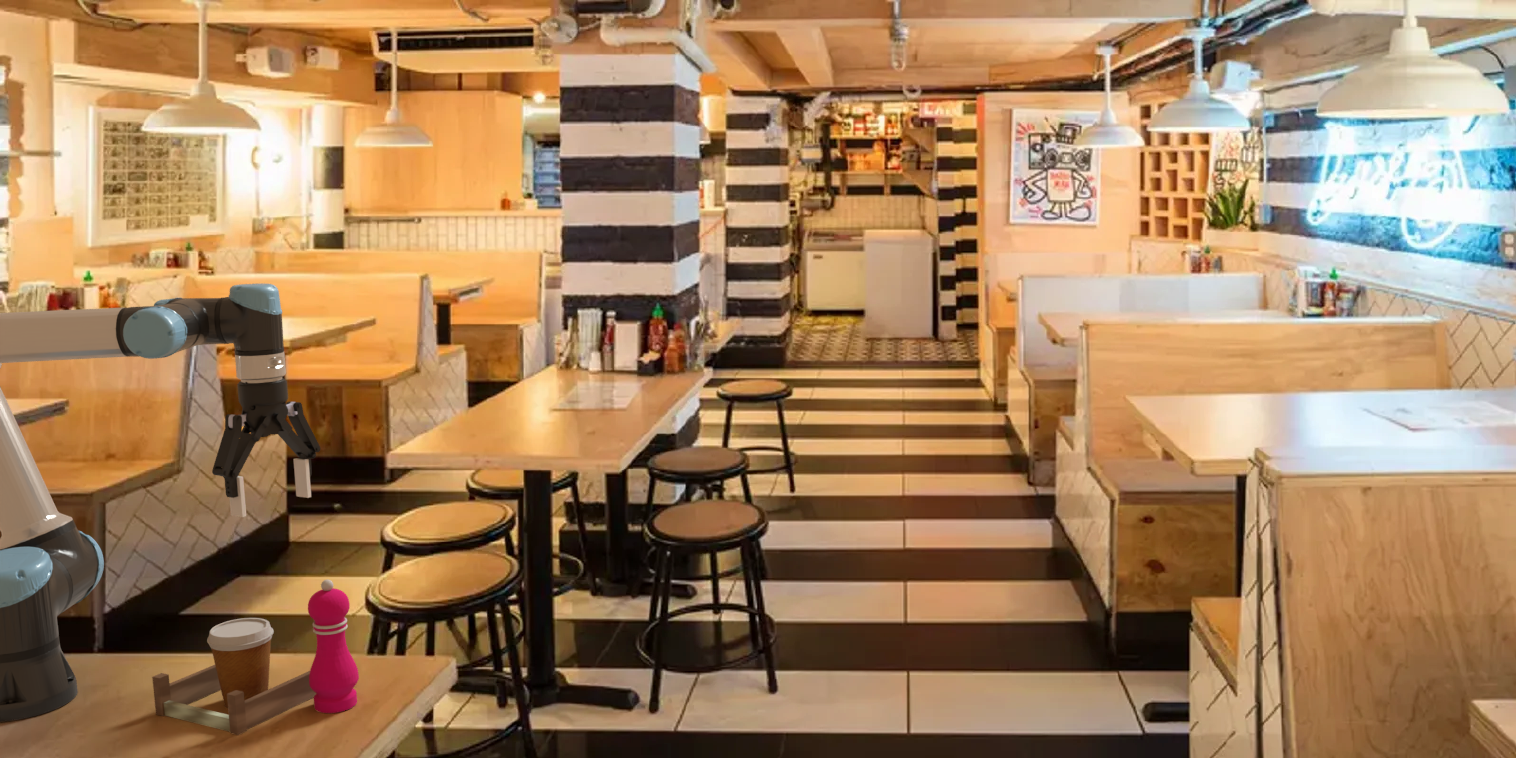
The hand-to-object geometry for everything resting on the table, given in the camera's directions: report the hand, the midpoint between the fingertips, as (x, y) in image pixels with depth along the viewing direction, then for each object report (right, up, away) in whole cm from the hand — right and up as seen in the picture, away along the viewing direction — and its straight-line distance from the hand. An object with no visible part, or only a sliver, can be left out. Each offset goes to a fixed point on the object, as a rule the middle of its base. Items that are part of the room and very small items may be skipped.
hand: (272, 506), depth 208 cm
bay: (+1, -29, -12) cm, 31 cm away
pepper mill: (+15, -29, -15) cm, 36 cm away
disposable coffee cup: (+1, -29, -13) cm, 32 cm away
